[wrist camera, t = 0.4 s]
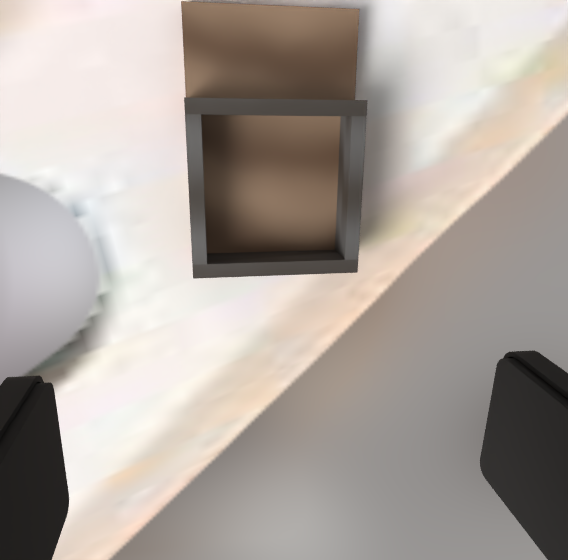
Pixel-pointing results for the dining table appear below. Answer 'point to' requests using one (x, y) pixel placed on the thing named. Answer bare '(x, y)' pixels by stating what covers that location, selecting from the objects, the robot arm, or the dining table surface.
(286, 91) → the open box
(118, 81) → the dining table surface
